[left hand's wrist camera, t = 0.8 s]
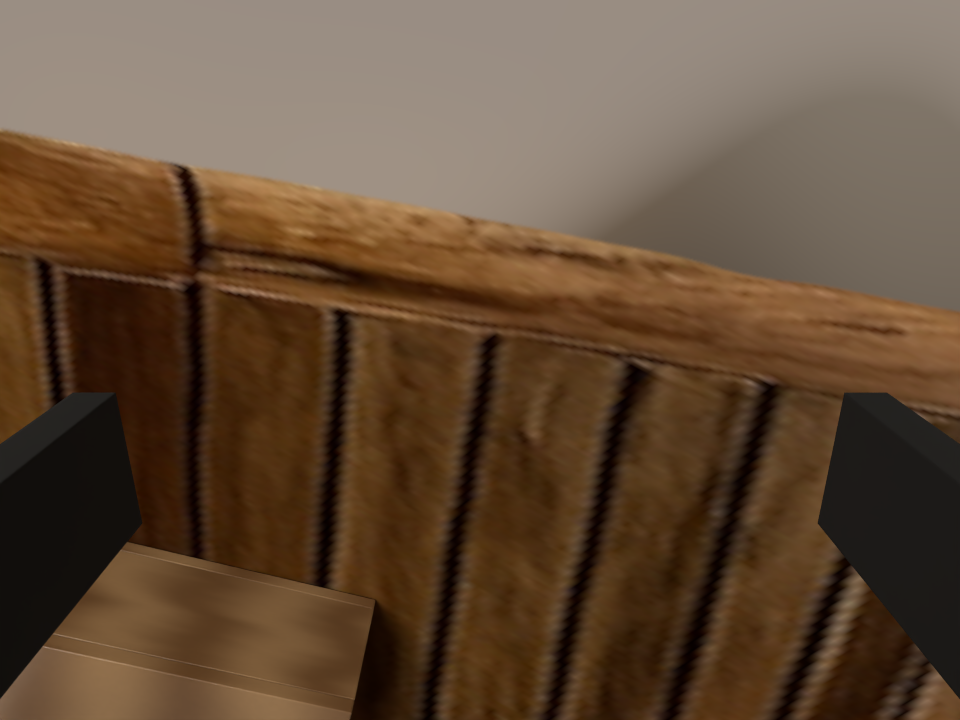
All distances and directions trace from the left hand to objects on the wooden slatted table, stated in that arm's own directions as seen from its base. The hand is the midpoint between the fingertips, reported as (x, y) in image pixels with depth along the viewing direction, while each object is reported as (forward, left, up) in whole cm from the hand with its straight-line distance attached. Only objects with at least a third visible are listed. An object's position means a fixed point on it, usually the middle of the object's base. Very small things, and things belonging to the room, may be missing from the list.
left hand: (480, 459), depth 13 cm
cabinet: (-29, +15, -27) cm, 43 cm away
